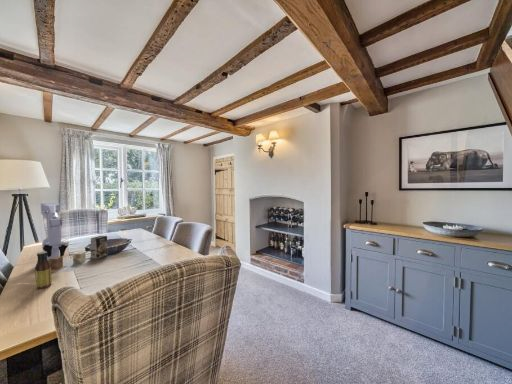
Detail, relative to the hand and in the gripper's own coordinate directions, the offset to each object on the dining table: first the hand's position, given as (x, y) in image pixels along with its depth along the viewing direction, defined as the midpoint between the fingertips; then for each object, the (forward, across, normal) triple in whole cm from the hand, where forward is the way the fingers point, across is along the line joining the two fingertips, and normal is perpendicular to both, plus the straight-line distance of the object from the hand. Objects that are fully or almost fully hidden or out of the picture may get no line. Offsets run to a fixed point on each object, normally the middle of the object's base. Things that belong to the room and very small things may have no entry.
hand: (55, 256), depth 144 cm
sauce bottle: (+9, +12, -26) cm, 30 cm away
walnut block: (+8, 0, 0) cm, 8 cm away
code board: (+9, +4, +6) cm, 11 cm away
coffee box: (+9, +14, +23) cm, 29 cm away
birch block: (+8, +8, +11) cm, 16 cm away
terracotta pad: (+8, 0, 0) cm, 8 cm away
